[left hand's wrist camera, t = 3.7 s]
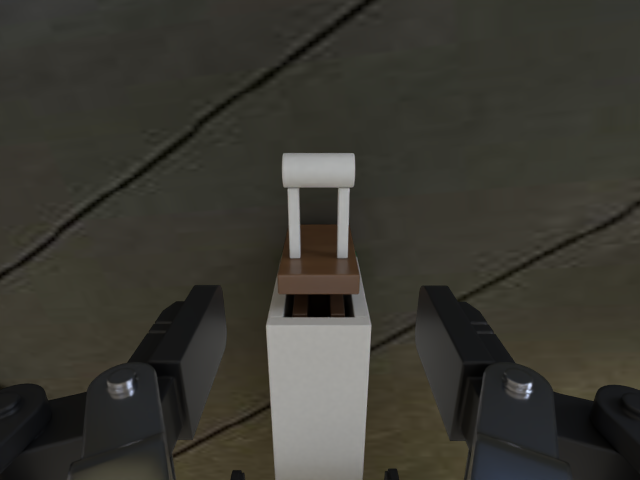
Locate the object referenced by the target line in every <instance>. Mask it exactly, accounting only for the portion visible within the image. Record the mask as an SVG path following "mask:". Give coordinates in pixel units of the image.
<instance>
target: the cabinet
mask: <svg viewBox="0 0 640 480" xmlns="http://www.w3.org/2000/svg"><path fill="white" fill-rule="evenodd" d="M282 252H283V251H282ZM355 254H356V251H355ZM281 257H282V255H281ZM356 259H357V254H356ZM280 261H281V260H280ZM357 264H358V260H357ZM279 266H280V265H279ZM358 269H359V265H358ZM278 270H279V269H278ZM359 273H360V270H359ZM277 275H278V274H277ZM294 297H295V294H278V281H277V278H276V283H275V287H274V292H273V296H272V301H271V305H270V310H269V314H268V319H267V323H266V335H267V351H268V368H269V384H270V400H271V417H272V433H273V450H274V466H275V480H363V464H364V446H365V428H366V411H367V393H368V375H369V358H370V340H371V322H370V317H369V312H368V308H367V303H366V298H365V293H364V289H363V284H362V279H361V274H360V287H359V294H343V301H344V311H345V317H292V314H293V306H294Z"/></svg>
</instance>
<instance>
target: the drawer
mask: <svg viewBox="0 0 640 480" xmlns="http://www.w3.org/2000/svg"><path fill="white" fill-rule="evenodd" d="M282 180H283V186H284V187H288V217H289V225H288V230H287V234H286V239H285V243H284V248H283V252H282V257H281V261H280V266H279V270H278V275H277V281H278V294H295V297H294V306H293V314H292V317H345V311H344V301H343V294H359V287H360V273H359V269H358V264H357V259H356V254H355V249H354V244H353V240H352V235H351V230H350V225H349V193H350V189H349V187H353V186H354V181H355V157H354V153H284V154H283V157H282ZM299 187H338V215H337V225H300V197H299Z"/></svg>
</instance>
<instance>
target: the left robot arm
mask: <svg viewBox="0 0 640 480" xmlns="http://www.w3.org/2000/svg"><path fill="white" fill-rule="evenodd" d="M226 338H227V329H226V319H225V310H224V300H223V292H222V288H221V286H220V285H195V286H194V287H193V288H192V290H191V292H190V293H189V295H188V297H187V298H186V300H185V301H176V302H175V303H173V304H172V305H171V306H169V307H168V308H166V309H165V310H163V311H162V313H161V314H160V316H159V317H158V319H157V320H156V322H155V324H153V326H152V327H151V329H150V330H149V333H147V335H146V336H145V338H144V339H143V340H142V342H141V343H140V345H139V346H138V348H137V349H136V351H135V352H134V354H133V355H132V356H131V358H130V359H129V361H128V362H127V363H124V364H120V365H117V366H115V367H112V368H110V369H108V370H106V371H104V372H103V373H101V374H100V375H99V376H97V377H96V378H95V379H94V380H93V381H92V382H91V384H90V385H89V387H88V389H87V392H84V393H80V394H76V395H71V396H67V397H62V398H58V399H53V400H49V401H48V399H47V396H46V393H45V391H44V389H43V388H42V387H41V386H39V385H36V384H19V385H14V386H10V387H6V388H4V389H1V390H0V480H176V475H175V469H174V462H173V457H172V452H173V449H174V447H175V444H176V442H177V440H193V437H194V435H195V432H196V429H197V426H198V423H199V421H200V418H201V415H202V412H203V409H204V406H205V404H206V401H207V398H208V395H209V392H210V390H211V387H212V384H213V381H214V378H215V376H216V373H217V370H218V367H219V364H220V362H221V359H222V356H223V353H224V350H225V346H226ZM415 339H416V347H417V351H418V354H419V356H420V359H421V362H422V365H423V367H424V370H425V373H426V376H427V378H428V381H429V384H430V387H431V390H432V392H433V395H434V398H435V401H436V403H437V406H438V409H439V412H440V414H441V417H442V420H443V423H444V425H445V428H446V431H447V434H448V436H449V439H450V441H466V443H467V445H468V448H469V452H468V457H467V462H466V469H465V475H464V480H640V390H637V389H634V388H631V387H627V386H622V385H607V386H603V387H601V388H600V389H598V391H597V393H596V396H595V399H594V401H590V400H586V399H581V398H577V397H572V396H568V395H563V394H560V393H556V392H553V389H552V387H551V385H550V384H549V382H548V381H547V380H546V379H545V378H544V377H543V376H541V375H540V374H539V373H537V372H536V371H534V370H532V369H530V368H528V367H525V366H523V365H520V364H516V363H515V362H514V360H513V359H512V357H511V356H510V355H509V353H508V352H507V350H506V349H505V347H504V346H503V344H502V343H501V342H500V340H499V339H498V337H497V336H496V334H494V332H493V330H492V329H491V327H490V326H489V325H487V321H486V320H485V319H484V317H483V316H482V314H481V313H480V311H478V310H477V309H475V308H474V307H472V306H471V305H470V304H468V303H467V302H458V301H457V300H456V298H455V297H454V295H453V293H452V292H451V290H450V289H449V287H448V286H421V288H420V292H419V301H418V310H417V319H416V329H415Z"/></svg>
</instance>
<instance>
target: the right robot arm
mask: <svg viewBox="0 0 640 480" xmlns="http://www.w3.org/2000/svg"><path fill="white" fill-rule="evenodd" d="M231 480H245V475H244V473H242V471H241V470H233V471H232V475H231ZM384 480H399V477H398V472H397V469H388V471H385V478H384Z"/></svg>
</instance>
